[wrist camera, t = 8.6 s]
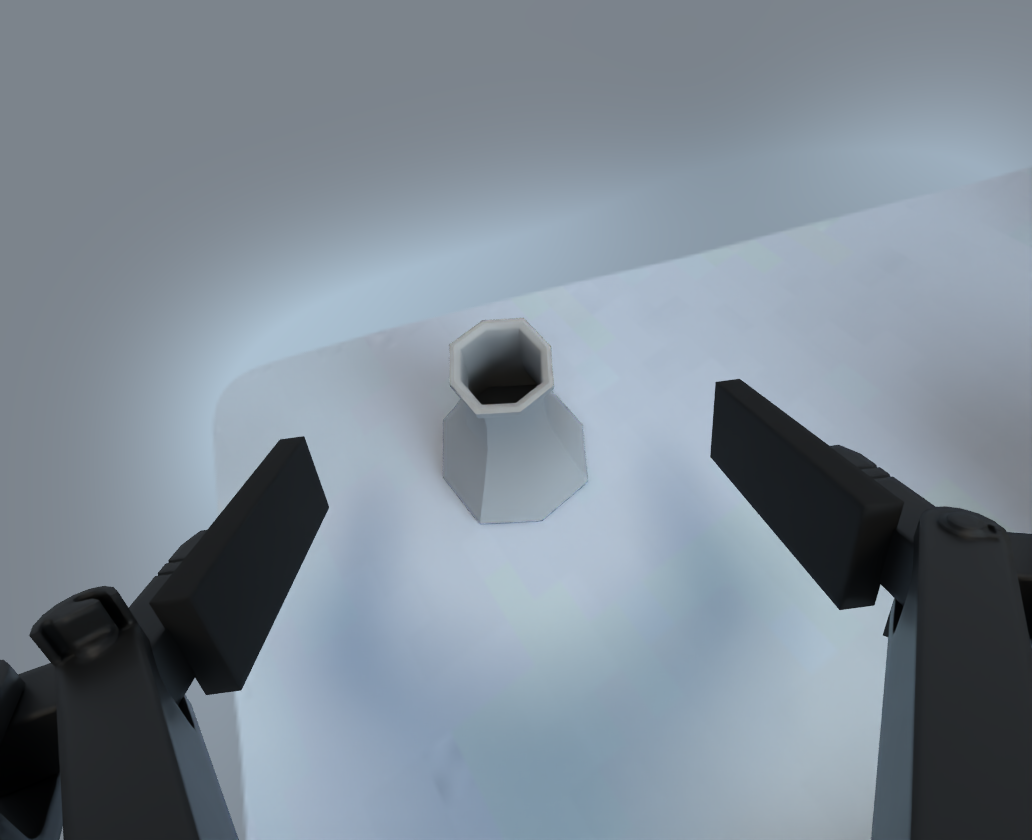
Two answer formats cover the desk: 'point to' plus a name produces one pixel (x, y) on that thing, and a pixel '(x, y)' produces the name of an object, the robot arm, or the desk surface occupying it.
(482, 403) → the flask
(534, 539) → the desk surface
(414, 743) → the desk surface
